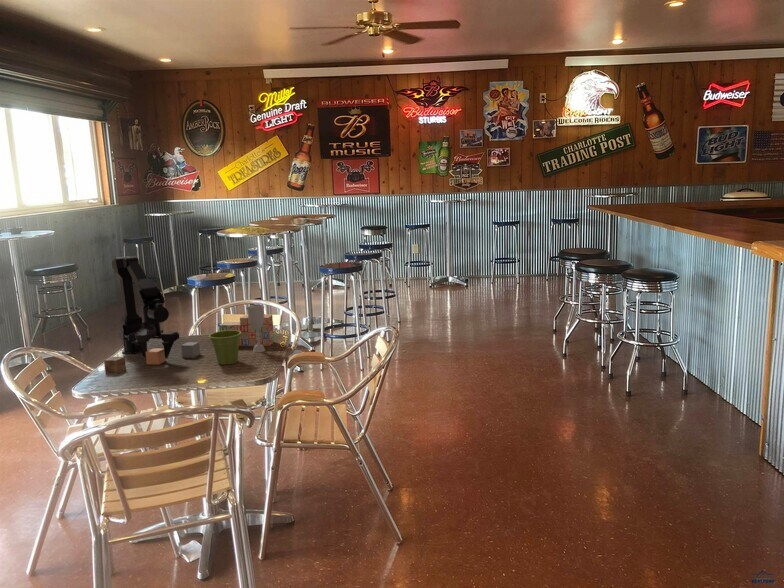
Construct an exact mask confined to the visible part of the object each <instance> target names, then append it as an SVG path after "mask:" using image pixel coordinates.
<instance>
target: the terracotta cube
mask: <svg viewBox="0 0 784 588" xmlns="http://www.w3.org/2000/svg"><path fill="white" fill-rule="evenodd" d="M145 359H146V365H160V364H163V363H164V362H166V361H167V359H166V358H165V352H164V348H158V347H157V348H155V347H154V348H153V347H152V348H151V349H149V350H147V351H146V358H145Z"/></svg>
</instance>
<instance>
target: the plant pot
mask: <svg viewBox="0 0 784 588" xmlns="http://www.w3.org/2000/svg"><path fill="white" fill-rule="evenodd" d="M240 334H241V331H238V330H225V331H220V330H219V331H215V332H212V333H210V334H209V335H208V337H209V338H210V341H211V343H212V345H213V350H214V354H215V356H216V357H215V358H216V359H217V363H218V364H219V365H221V366H225V365H234V364H236V363H237V362H238V360H239V347H240V346H239V339H240Z"/></svg>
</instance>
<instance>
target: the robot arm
mask: <svg viewBox="0 0 784 588" xmlns="http://www.w3.org/2000/svg"><path fill="white" fill-rule="evenodd" d="M111 267H112V269H113V272H114V274H115V275H116V277H118V279H119V283H120V292H121V299H122V307H123V316H122V317H121V320H120V327H119V330H118V333H117V334H118V338H119V339H120V340H122V342H123V343H122V344H123V349H124V350H123V351H122V352H121V354H137V353H141V355H142V357H143V358H144V359H146V351H148V342H149V341H150V340H162V342H161V345H163V349H164V352H165V358H166V360H168V358H169V356H170V352H171V350H172V347H173V345H174V343H175V342H176V341H177V340H178V339H180V333H179V332H178V331H170V330H169V331H167V332H165V333H164V329H162V328H161V323H164V322H166V321H167V320H168V318H169V315H170V312H169V310H168V309H167V308H166V307H164V306H163V304H165V297H164V296H163V293H162V291H161V290H160V288H159V287H158V286H157V284H156V283H155V282H154V281H152V280H149V278H148V276H147V275H146V273H145V271H144V269H143V267H142V266H141V264H140V260H139V258H138V256H131V255H127V256H118V257H114V258H113V260H111ZM133 282H134V283H133ZM134 284H135V285H136V289H137V290H136V297H137V299H138V301H139V303H140V304H141V305H140V306H141V308H142V316H143V318H142V316H140V315H139V314H138V313H137V307H136V299H135V290H134Z"/></svg>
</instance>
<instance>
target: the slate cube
mask: <svg viewBox="0 0 784 588" xmlns="http://www.w3.org/2000/svg"><path fill="white" fill-rule="evenodd" d="M200 348H201V347H200V342H198V341H197V342H196V341H195V342H193V341H190V342H189V341H187V342H185V343H183V344H180V349H181V357H182V358H186V359H187V358H191V359H193V358H196V357H198V356H200V355H201V349H200Z"/></svg>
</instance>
